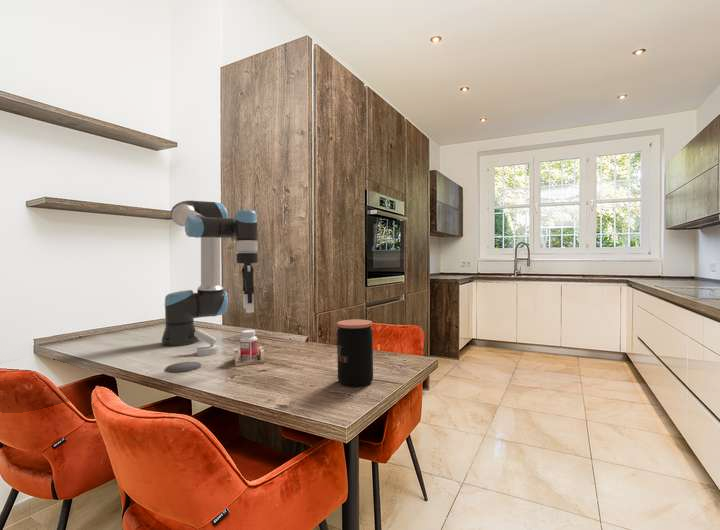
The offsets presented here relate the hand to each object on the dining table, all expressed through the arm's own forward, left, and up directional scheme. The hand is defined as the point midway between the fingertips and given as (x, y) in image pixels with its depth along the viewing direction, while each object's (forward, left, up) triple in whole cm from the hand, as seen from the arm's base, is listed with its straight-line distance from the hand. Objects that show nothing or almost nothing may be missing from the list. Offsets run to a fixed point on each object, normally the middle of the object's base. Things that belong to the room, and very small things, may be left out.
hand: (248, 310), depth 140 cm
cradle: (0, 0, -19) cm, 19 cm away
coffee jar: (+38, +28, -19) cm, 51 cm away
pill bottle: (0, 0, -19) cm, 19 cm away
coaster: (0, -22, -19) cm, 29 cm away
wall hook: (-20, -15, -19) cm, 31 cm away
